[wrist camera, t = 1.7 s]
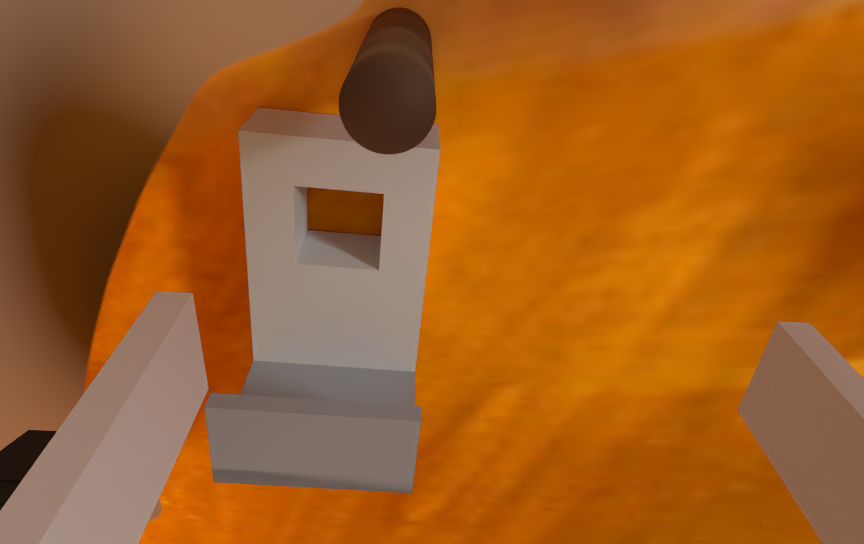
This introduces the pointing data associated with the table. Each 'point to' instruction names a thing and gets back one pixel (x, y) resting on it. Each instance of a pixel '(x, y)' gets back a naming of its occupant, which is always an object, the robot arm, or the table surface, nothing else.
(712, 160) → the table surface
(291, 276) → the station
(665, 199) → the table surface
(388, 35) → the dowel
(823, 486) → the robot arm
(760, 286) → the table surface
